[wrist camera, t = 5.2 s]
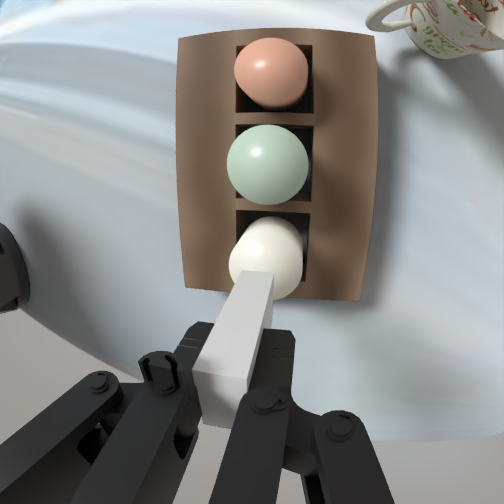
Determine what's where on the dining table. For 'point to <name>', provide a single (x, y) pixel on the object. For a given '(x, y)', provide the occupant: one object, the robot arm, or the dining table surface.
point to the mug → (446, 25)
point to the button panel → (320, 121)
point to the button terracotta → (272, 73)
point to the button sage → (267, 164)
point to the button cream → (270, 253)
